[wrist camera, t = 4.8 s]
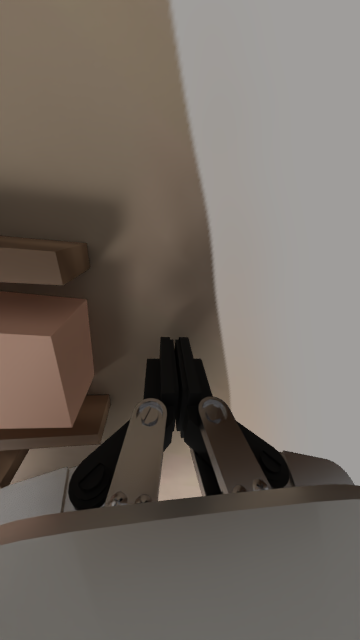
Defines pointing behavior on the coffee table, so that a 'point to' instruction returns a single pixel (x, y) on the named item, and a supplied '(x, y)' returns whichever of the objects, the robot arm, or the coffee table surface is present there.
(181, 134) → the coffee table surface
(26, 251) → the box
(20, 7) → the coffee table surface
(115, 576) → the robot arm
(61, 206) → the coffee table surface
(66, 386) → the terracotta block
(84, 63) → the coffee table surface
